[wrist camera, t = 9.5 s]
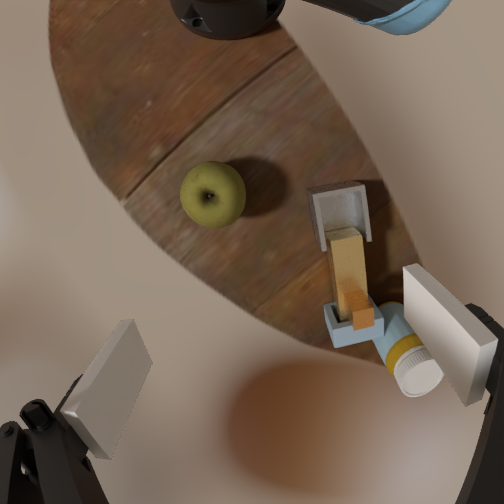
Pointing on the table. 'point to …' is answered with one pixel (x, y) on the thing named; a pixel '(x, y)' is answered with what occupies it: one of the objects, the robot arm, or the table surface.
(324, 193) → the sleeve
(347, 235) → the yellow orange l-shaped block
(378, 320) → the socket block
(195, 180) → the apple
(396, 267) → the table surface
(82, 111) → the table surface
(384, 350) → the bottle
